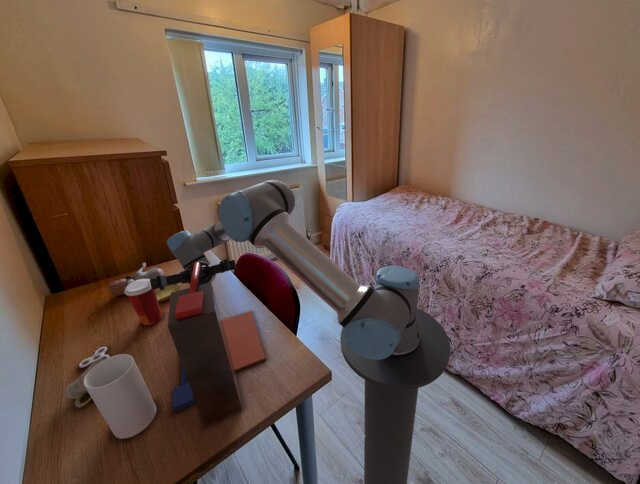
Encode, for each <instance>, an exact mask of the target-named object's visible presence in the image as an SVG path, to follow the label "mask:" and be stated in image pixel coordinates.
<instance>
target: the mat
mask: <svg viewBox="0 0 640 484" xmlns="http://www.w3.org/2000/svg"><path fill="white" fill-rule="evenodd" d="M222 323H223V327H224V331H225V334H226V338H227V342H228V346H229V349H230V353H231V357H232V361H233V364H234V368H235V372H237V371H240V370H243V369H245V368H247V367H250V366H253V365H255V364H258V363H260V362H263V361H265V360H266V356H265V353H264V349H263V346H262V341H261V338H260V336H259V332H258V329H257V326H256V322H255V319H254V316H253V313H252V311H247V312H244V313H241V314H237V315H234V316H232V317H228V318H224V319H222Z"/></svg>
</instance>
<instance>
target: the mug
mask: <svg viewBox="0 0 640 484" xmlns="http://www.w3.org/2000/svg"><path fill="white" fill-rule="evenodd" d="M105 359H107V357H102V358H100V359H98V360H96V361H95V362H93V363H92V364H90V365H88V366H87V368H86V369H85V371H84V372H83V373H82V374H81V375H80V376H79V377H78V378H77V379H76V380H74V381H73V382H71V383H70V384H68V385H67V387H66V389H65V395H66V397H67V398H69V399H70V400H75V401H74V405H75V407H77V408H82V407H84V406H86V405H88V404H89V403H91V402H92V401H93V399H92V398H91V396H90V397H89V398H88V399H87V400H86V401H83V402H81V399H82V398H83V397H84V396H85V395H87V394H89V393H88V391H87V389H86V388H85V386H84V378H85V376H86V374H87V373H88V372H89V371H90V370H91V369H92V368H93V367H94V366H95V365H97V364H98V363H100V362H101V361H103V360H105Z"/></svg>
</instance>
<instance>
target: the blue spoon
mask: <svg viewBox="0 0 640 484" xmlns="http://www.w3.org/2000/svg"><path fill="white" fill-rule="evenodd" d="M180 370H181V373H180V374H181V375H180V386H177V387H174V388H173V391H172V410H173V412H174V413H175V412H177V411H180V410H182V409H185V408H187V407H189V406H192V405H194V404H196V401H195V398H194V395H193V393H192V390H191V387H190V384H189V382H188V379H187V376H186V374H185V371H184V368H183V366H182V365H181V369H180Z"/></svg>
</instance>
